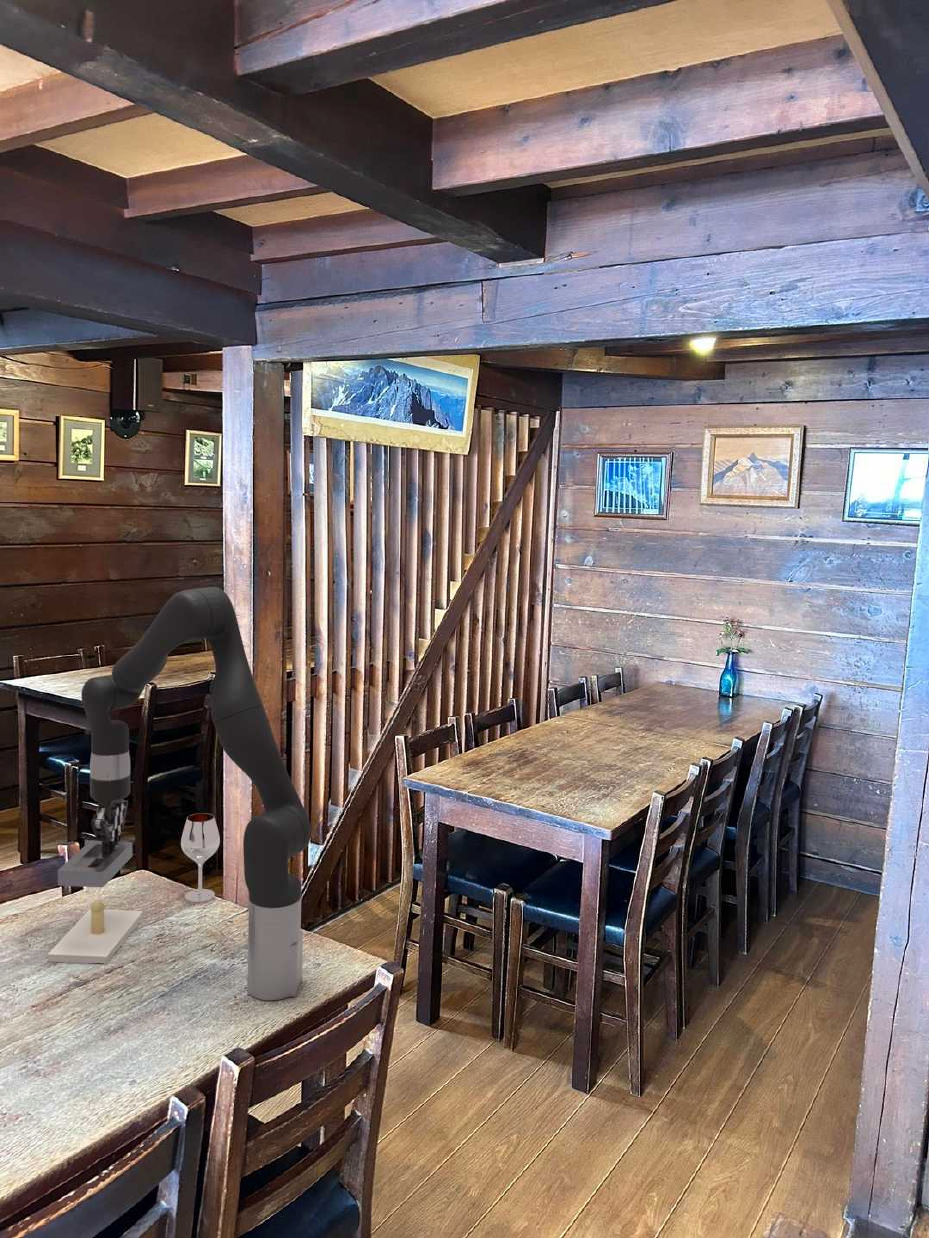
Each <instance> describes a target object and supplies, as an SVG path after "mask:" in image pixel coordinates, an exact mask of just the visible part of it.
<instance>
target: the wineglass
mask: <svg viewBox="0 0 929 1238" xmlns="http://www.w3.org/2000/svg"><path fill="white" fill-rule="evenodd" d="M220 838H221V837H220V832H219V829H218V826H217V822H216V819H215V816H214V815H213V814H212V813H204V812H202V813H201V812H199V813H194V814H191V815H189V816H187V817H186V821H185V824H184V827H183V831H182V835H181V839H180V847H181V850H182V852H183V853H184V855H185V856H187V857H188V858H189V859H191V860H192V861H194V862H195V863H196V864H197V866H198V867H197V868H198V872H197V873H198V879H197V880H198V881H197V882H198V884H197V886H198V887H197V889H193V890H194V891H192V890H190V891H188V892H186V893H185V895H184V899H185V900H186V901H188V902H191V903H205V902H207V901H211V900H212V899H213V898H215V896H216V894H215V892H214V890H212V889H207V888H203V865H204V864H205V862H206V861H207V860H208V859H209V858H211V857H212V856H213V855H214V854H215V853H216V852H217V851H218V849H219V846H220V843H221V839H220ZM195 891H197V892H195ZM208 895H210V896H208ZM212 897H213V898H212Z"/></svg>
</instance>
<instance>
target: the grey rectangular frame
mask: <svg viewBox="0 0 929 1238" xmlns="http://www.w3.org/2000/svg"><path fill="white" fill-rule="evenodd" d="M132 857H133V842H132V841H119V842H114V852H113V853H112V854H111V855H110V856H109V857H108V858H107V859H104V858H102V841H97V840H92V839H91V840H89V841H88V842H87V843H86V844H85V845H84V846H83V847H82V848H80V850H78V851H77V852H76V854H74V855H73V856H71V858H70V859H68V860H67V861H66V862H65V863H64V864H63V865H62V866H61V867H60V868H59V869H58V870H57V886H61V887H62V886H63V887H80V888H81V887H83V888H85V887H87V888H104V887H105V886H106V885H107V884H108V883H109V882H110V881H111V880H112V879H113V877H114V876H115V875H116V874H117V873H118V872H119V871H120V870H121V869H122V868H123V867H124V866H125V865H126V863H128V861H129V860H130V859H131V858H132ZM96 859H102V860H103V859H104V861H102V862H101V863H100V864H99V865H98V866H97V867H90V865H92V863H93V862H95V860H96Z"/></svg>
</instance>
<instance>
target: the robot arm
mask: <svg viewBox="0 0 929 1238" xmlns="http://www.w3.org/2000/svg"><path fill="white" fill-rule="evenodd" d="M206 639H207V641H208V643H209V646H210V649H211V652H212V656H213V659H214V664H215V665H214V666H215V675H214V682H213V688H212V692H211V699H210V715H211V716H210V717H211V719H212V723H213V725H214V728H215V731H216V734H217V737H218V738H217V739H218V741H219V743H220V746H221V748H222V749H223V751H224V753H226V755H227V756H228V757H229V758H230V760H231V761H232V762H233V763H234V764H235V765H236V766H237V767H238V768H239V769H240V770H241V771H242V772H243V773H244V774H245V775H246V776H247V777H248V778H249V779H250V780H251V782H252V783H253V784H254V786H255V788H256V790H257V791H258V794H259V796H260V799H261V803H262V804H263V808H264V812H263V813H260V814H258V815H256V816H254V817H253V818H251V819H250V820H249V822H247V824H246V827H245V829H244V834H243V843H242V844H243V845H242V847H243V872H244V873H243V874H244V877H243V878H244V882H245V885H246V887H247V890H248V928H247V929H248V932H247V936H248V937H247V938H248V940H247V941H248V942H247V979H246V981H247V982H246V983H247V987H246V988H247V992H248V994H249V995H250V996H252V997H253V998H255V999H258V1000H262V1001H278V1000H283V999H286V998H292V997H293V998H294V997H297V994H298V992H299V988H300V986H301V984H302V980H303V978H302V977H303V976H302V975H303V940H304V939H303V938H304V937H303V935H304V932H303V930H301V929H302V927H301V926H302V923H301V922H302V921H301V920H302V915H301V914H302V887H303V886H302V881H301V880H300V878H298V876H296V875H294V874H291V873H289V863H288V862H289V859H291V858H292V857H294V856H296V855H298V854H299V853H302V852H303V851H304V850H305V849H306V848H307V847H308V846H309V845H310V842H311V839H312V827H311V823H310V819H309V816H308V814H307V811H306V809H305V807H304V805H303V803H302V801H301V799H300V797H299V794H298V793H297V790H296V788H295V786H294V784H293V782H292V779H291V777H290V776H289V773H288V771H287V769H286V766H285V763H284V760H283V758H282V757H283V756H282V754H281V752H280V749H279V747H278V744H277V742H276V739H275V737H274V734H273V731H272V727H271V723H270V720H269V718H268V714H267V712H266V709H265V706H264V703H263V701H262V699H261V696H260V694H259V691H258V689H257V685H256V682H255V680H254V677H253V674H252V671H251V667H250V664H249V661H248V658H247V653H246V650H245V646H244V643H243V640H242V634H241V630H240V626H239V622H238V617H237V614H236V611H235V608H234V605H233V602H232V600H231V599H230V597H229V595H228V594H227V593H226V592H225V591H224V590H223V589H221V588H220V587H217V586H209V587H208V586H207V587H199V588H191V589H185V590H181V591H178V592H177V593H174V594H173V595H172V596H171V597H170V598H169V599H168V600H167V601H166V603H165V604H164V606H163V607H162V608H161V610H160V611H159V613H158V614H157V616H156V617H155V619H154V621H152V623H151V625H150V626H149V627H148V629H147V630H146V632H145V633H144V634H143V636H142V637H141V638H140V639H139V640H138V641H137V642H136V644H134V646H132V647H131V648H130V649H129V650H128V651H127V652H126V653H125V654H123V656H121V658H120V659H119V660H117V662H116V663H115V664H114V665H113V667H112V670H111V674H109V675H108V674H107V675H100V676H95V677H91V678H89V679H88V680H86V682H84V684H83V686H82V690H81V693H80V694H81V695H80V698H81V702H82V706H83V710H84V712H85V716H86V719H87V722H88V726H89V729H90V738H91V739H90V741H91V742H90V745H91V748H90V749H91V751H90V752H91V753H90V762H89V795H90V797H91V799H93V800H95V801H96V802H97V803H98V804H97V808H96V816H97V818H92V819H91V821H90V822H91V823H90V824H91V828H92V831H93V833H94V834H93V835H94V837H95V839H96V840H95V841H102V858H104V860H106V859H107V858H108V857H109V856H110V855H111V854H112V853H113V852H114V842H120V838H119V837H120V835H121V830H123V829H124V827H125V822H126V815H127V811H128V806H129V800H127V799H125V798H128V796H129V795H130V794H131V756H130V749H129V748H130V729H129V726H128V724H127V723H126V722H125V721H123V720H119V719H118V720H116V719H111V718H110V714H109V712H112V711H116V710H121V709H126V708H128V707H131V706H132V705H134V704H135V703H136V702H138V700H139V699H140V697H141V695H142V693H143V692H144V689H145V687H146V686H147V685H148V684H150V683H151V682H152V681H154V679H155V678H157V676H158V675H159V674H160V673H161V672H163V670H164V668H165V666H166V665H167V662H168V657H169V654H170V653H171V652H172V651H173V650H174V649H176V648H178V647H179V646H181V645H183V644H185V643H187V642H189V641H192V642H193V641H195V642H197V641H200V640H206Z"/></svg>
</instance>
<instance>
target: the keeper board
mask: <svg viewBox="0 0 929 1238" xmlns="http://www.w3.org/2000/svg"><path fill="white" fill-rule="evenodd" d="M105 908H106V906H105V903H104V902H103V901H101V900H95V901H94V902H92V903H91V905H90V908H89V910H88V911H87V912H86V913H85V914H84V915H83V916H82V917H81V918H80V919H79V920H78V921H77V922H76V924H75V925H74V926H73V927H71V929H70V930H69V931H68V932H67V933H65V935H64V936H63V937H62V938H61V939H60V941H58V943H57V944H55V946H54V947H53V948H52V949H51V950H50V951H49V952H48V953H47V963H65V962H66V964H69V963H73V964H88V963H102V964H101V965H107V964H108V963H109V962H110V961H111V959H112V958H113V957H114V955H115V954H116V953H117V952H118V950H119V949H120V948H121V947H122V946H123V944H124V943H125V942H126V941H127V939H128V938H129V936H130V935H131V934H132V933H133V932H134V930H135V928H137V926H138V925H139V924H140V922H141V921H142V920H143V919H144V911H143V910H127V909H126V910H125V909H123V910H122V909H121V910H120V909H105ZM131 932H132V933H131ZM120 946H121V947H120ZM116 951H117V952H116ZM115 952H116V953H115ZM109 960H110V961H109ZM108 961H109V962H108ZM67 962H69V963H67ZM103 963H104V964H103Z"/></svg>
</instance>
